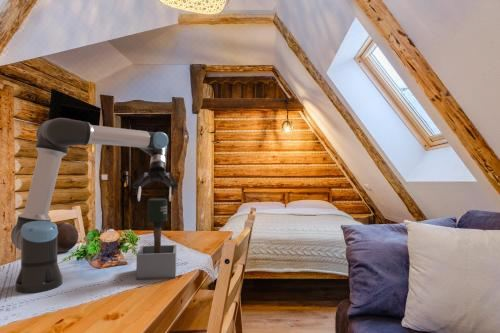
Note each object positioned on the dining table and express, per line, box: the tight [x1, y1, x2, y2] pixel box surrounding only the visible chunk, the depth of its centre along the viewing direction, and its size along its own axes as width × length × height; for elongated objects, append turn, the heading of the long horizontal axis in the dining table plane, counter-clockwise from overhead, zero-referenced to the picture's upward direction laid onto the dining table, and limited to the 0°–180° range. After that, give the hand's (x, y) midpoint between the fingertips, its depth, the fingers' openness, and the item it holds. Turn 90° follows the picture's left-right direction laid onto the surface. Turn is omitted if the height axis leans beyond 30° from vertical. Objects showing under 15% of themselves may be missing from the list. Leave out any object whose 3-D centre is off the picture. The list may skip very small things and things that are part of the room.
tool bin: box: [135, 244, 177, 281], centre depth 150 cm, size 15×15×10 cm
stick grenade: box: [146, 197, 169, 253], centre depth 150 cm, size 8×9×30 cm
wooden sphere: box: [55, 222, 79, 253], centre depth 185 cm, size 15×15×15 cm
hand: (154, 199), depth 160 cm, fingers open, 13 cm apart
